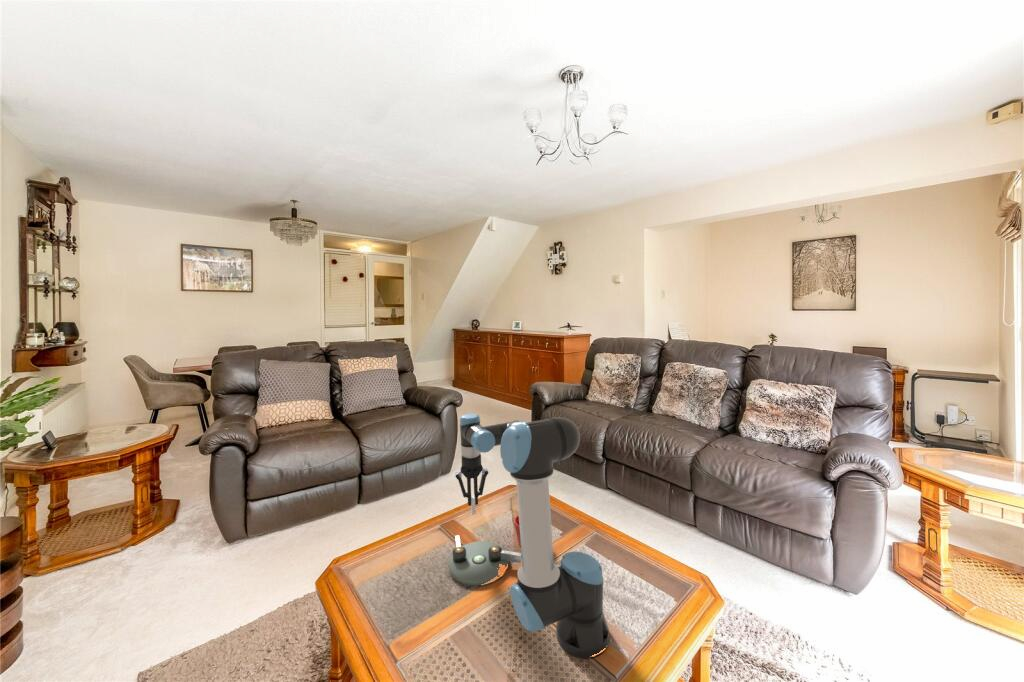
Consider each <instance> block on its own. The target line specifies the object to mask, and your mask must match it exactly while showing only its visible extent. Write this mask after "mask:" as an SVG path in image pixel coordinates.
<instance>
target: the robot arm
mask: <svg viewBox="0 0 1024 682" xmlns="http://www.w3.org/2000/svg"><path fill="white" fill-rule="evenodd" d="M480 423H481V418H480V416H479V414H477V413H465V414H464V415H461V416H460V418H459V428H460V429H459V431H460V433H459V434H460V450H461V451H460V453H461V456H460V458H461V467H460V470H459V471H456V472H455V475H454V476H455V478H456V479H457V481H458V483H459V486H460V490H461V493H462V497H463V498H466V499H467V505H468V506H469V507H470V512H471V515H476V512H477V511H476V506H477V505H478V504H479V496H482V495H483V492H484V488H485V484H486V479H487V476H488V475H489V470H488V469H487V468H485V467H483V465H482V454H481V453H483V454H484V453H489V452H490V451H491V450H492V449H494V448H495V447H496V446H499V447H500V450H499V451H500V458H501V459H502V460H501V461H502V465H503V467H504V469H505V471H507V472H509V474H510V477H511V478H512V479H514V480H515V481H516V494H517V495H516V496H517V507H518V515H519V525H520V540H521V546H520V553H521V554H522V561H521V565H520V566H519V568H518V569H517V573H516V574H517V575H516V576H517V582H514V583H513V584H511V586H510V588H509V593H510V599H511V602H512V606H513V609H514V612H515V615H516V616H517V618H518V620H519V622H520V623H521V625H522V627H523V628H524V629H525V630H526V631H528V632H530V633H534V632H536V631H540V630H544V629H545V628H546V627H549V626H550V625H553V624H555V623H556V625H555V626H556V627H555V630H556V632H555V634H556V639H557V641H558V644H559V645H560V647H561V648H562V649H563V650H564V651H565V652H567V653H568V654H570V655H571V656H573V657H577V658H579V659H580V658H581V659H590V658H589V657H590V656H592V655H594V654H597V653H599V652H600V651H601V650H603V649H604V648H606V646H607V645H608V646H609V644H610V630H609V625H608V623H607V620H606V617H605V613H604V611H603V609H604V603H603V602H604V601H603V600H604V596H603V595H604V594H603V593H604V591H603V590H604V577H603V568H602V565H601V563H600V562H599V561H598V560H597V559H596V558H595V557H594V556H592V555H590V554H589V553H585V552H581V551H569V552H566V553H565V554H563V555H562V557H561V560H560V561H559V562H560V565H559V566H558V565H557V564H555V562H554V559H555V558H554V546H553V545H554V543H553V531H552V530H553V529H552V514H551V502H550V500H551V499H550V485H549V484H550V483H549V479H550V478H551V477H552V476H553V474H554V463H556V462H560V461H562V460H566V459H568V458H570V457H571V456H572V455H573V454H575V453H576V451H577V450H578V448H579V446H580V442H581V433H580V430H579V428H578V426H577V425H576V424H575V422H574V421H572V420H571V419H569V418H566V417H561V416H558V417H557V416H554V417H549V418H546V419H545V418H544V419H540V420H534V421H525V420H524V419H520V420H519V419H518V420H512V421H508V422H503V423H495V424H492V425H485V426H482V424H480ZM480 474H481V477H480V482H479V484H478V477H479V475H480ZM463 476H464V477H465V478H466V486H467V487H466V489H465V485H464V482H463V478H462V477H463ZM471 479H473V494H472V480H471ZM478 485H479V487H478Z"/></svg>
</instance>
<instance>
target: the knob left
mask: <svg viewBox="0 0 1024 682" xmlns="http://www.w3.org/2000/svg"><path fill="white" fill-rule="evenodd" d="M454 537H455V538H454V540H455V547H454V548H453V549H452V554H453V561H454V562H456V563H461V562H464V561H465V560H466V549H465V548H464V547H461V538H460V534H458V535H455V536H454Z"/></svg>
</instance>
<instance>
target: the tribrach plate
mask: <svg viewBox="0 0 1024 682" xmlns="http://www.w3.org/2000/svg"><path fill="white" fill-rule="evenodd" d="M492 546H499V547H501V548H502V550H505V551H507V550H506V549H505V548H504V547H503V546H502V545H500V544H498V543H495V542H493V541H486V540H485V541H483V540H481V541H479V540H478V541H473V542H468V543H465V544H464V545H462V546H461V547H464V548H465V549H466V560H465V561H464V562H461V563H456V562H454V561H453V553H452V554H451V556H450V558H449V560H448V561H449V563H448V568H449V573H450V576H451V577H452V578H453V579H454V580H455V581H456V582H458V583H460V584H461V585H465V586H468V587H469V586H470V587H479V586H478V585H481V584H484V583H486V582H488V581H490V580H491V579H493V578H494V577H496V576H497V575H498V570H499V568H500V567H499V564H502V565H505V567H506V566H507V564H508V563H509V564H510V561H505V560H500V561H498V562H491V561H490V560H489V553H488V550H489V548H490V547H492ZM497 568H498V569H497Z"/></svg>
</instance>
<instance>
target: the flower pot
mask: <svg viewBox="0 0 1024 682" xmlns="http://www.w3.org/2000/svg"><path fill="white" fill-rule="evenodd" d="M513 521H514V526H515V532H516V537H517V541H518V545H519V546H520V547H521V540H520V525H519V514H517V515H516V517H515V518H514V520H513Z"/></svg>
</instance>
